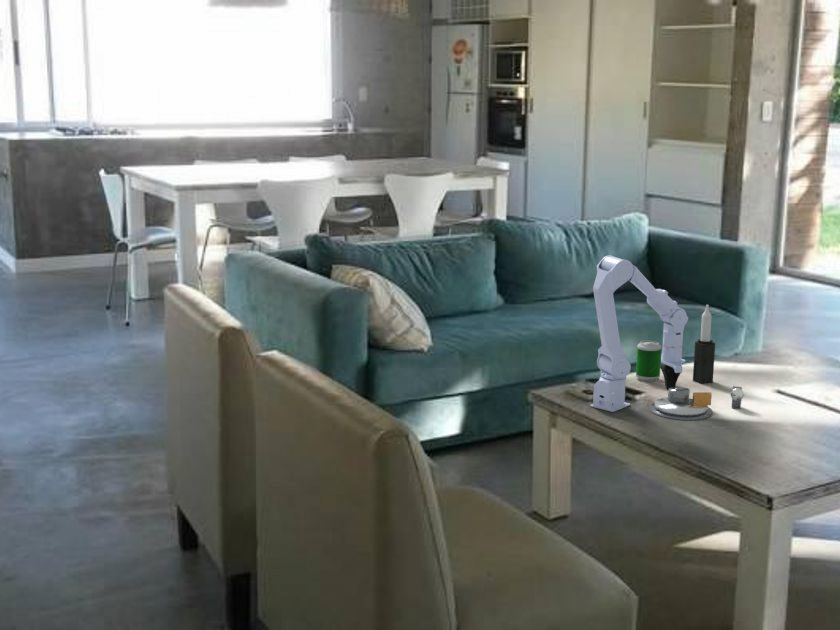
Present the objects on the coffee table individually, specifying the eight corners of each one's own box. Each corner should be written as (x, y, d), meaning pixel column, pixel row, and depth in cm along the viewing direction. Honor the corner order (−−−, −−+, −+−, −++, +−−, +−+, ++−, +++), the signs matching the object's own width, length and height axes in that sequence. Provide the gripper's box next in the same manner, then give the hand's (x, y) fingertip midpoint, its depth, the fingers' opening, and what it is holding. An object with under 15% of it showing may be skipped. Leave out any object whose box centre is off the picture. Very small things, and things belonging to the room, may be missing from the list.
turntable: (661, 416, 299) (662, 400, 298) (649, 401, 313) (650, 385, 312) (717, 416, 299) (718, 400, 298) (703, 400, 313) (703, 385, 312)
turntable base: (692, 424, 294) (692, 423, 294) (637, 410, 306) (637, 409, 306) (724, 410, 306) (724, 409, 306) (670, 397, 319) (670, 396, 318)
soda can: (661, 382, 335) (663, 345, 332) (638, 382, 335) (639, 345, 332) (657, 376, 342) (658, 340, 340) (633, 375, 342) (635, 339, 340)
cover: (671, 404, 306) (671, 390, 305) (665, 398, 312) (666, 384, 311) (691, 403, 307) (692, 390, 306) (685, 397, 312) (686, 384, 312)
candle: (691, 380, 337) (695, 303, 332) (703, 378, 339) (708, 302, 334) (701, 384, 333) (706, 306, 327) (714, 382, 335) (719, 305, 329)
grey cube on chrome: (742, 409, 307) (744, 389, 306) (729, 408, 308) (731, 388, 306) (742, 406, 310) (743, 386, 309) (729, 405, 311) (730, 385, 309)
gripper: (693, 351, 306) (690, 396, 309) (678, 339, 321) (675, 382, 324) (669, 352, 306) (667, 397, 309) (655, 340, 320) (653, 383, 323)
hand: (670, 389), depth 316 cm, fingers closed
